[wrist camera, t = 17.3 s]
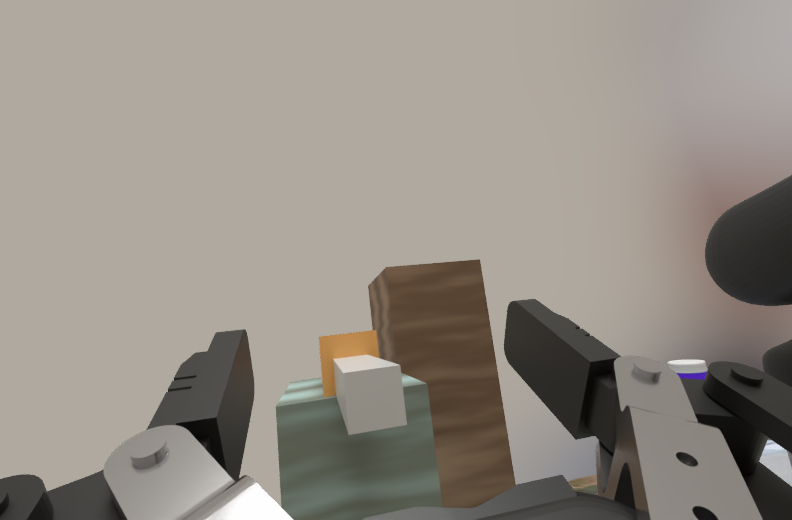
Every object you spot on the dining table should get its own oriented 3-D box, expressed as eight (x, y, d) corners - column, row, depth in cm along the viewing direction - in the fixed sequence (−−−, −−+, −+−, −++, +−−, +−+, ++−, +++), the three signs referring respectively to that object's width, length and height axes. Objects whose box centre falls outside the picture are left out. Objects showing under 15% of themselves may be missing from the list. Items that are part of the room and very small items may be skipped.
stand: (620, 715, 24) (531, 234, 30) (300, 841, 20) (267, 252, 26) (473, 532, 47) (438, 279, 53) (310, 572, 43) (291, 293, 49)
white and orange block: (425, 421, 16) (413, 324, 17) (328, 438, 15) (320, 335, 16) (365, 374, 36) (360, 332, 37) (322, 381, 35) (318, 337, 36)
